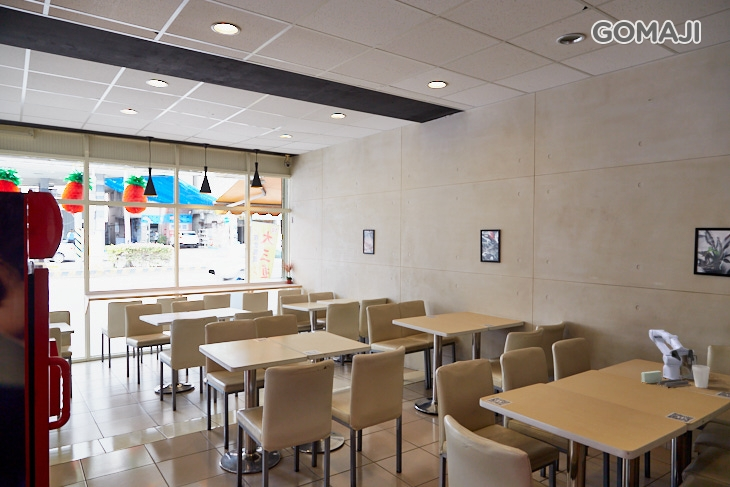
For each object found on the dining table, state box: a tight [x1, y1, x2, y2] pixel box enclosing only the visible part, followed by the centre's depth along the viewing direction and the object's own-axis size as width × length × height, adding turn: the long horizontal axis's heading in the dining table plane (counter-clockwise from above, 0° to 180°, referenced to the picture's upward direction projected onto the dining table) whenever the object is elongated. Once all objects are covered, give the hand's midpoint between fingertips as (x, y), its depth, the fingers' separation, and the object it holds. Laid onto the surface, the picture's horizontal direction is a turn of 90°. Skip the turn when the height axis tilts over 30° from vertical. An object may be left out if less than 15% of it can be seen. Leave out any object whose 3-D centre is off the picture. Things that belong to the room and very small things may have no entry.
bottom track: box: [656, 379, 691, 388], centre depth 307 cm, size 9×18×3 cm, turn 103°
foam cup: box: [692, 364, 710, 389], centre depth 302 cm, size 10×9×13 cm
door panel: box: [640, 370, 663, 384], centre depth 315 cm, size 2×14×7 cm, turn 103°
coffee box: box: [679, 354, 698, 381], centre depth 323 cm, size 9×6×16 cm
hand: (686, 359), depth 302 cm, fingers open, 7 cm apart
